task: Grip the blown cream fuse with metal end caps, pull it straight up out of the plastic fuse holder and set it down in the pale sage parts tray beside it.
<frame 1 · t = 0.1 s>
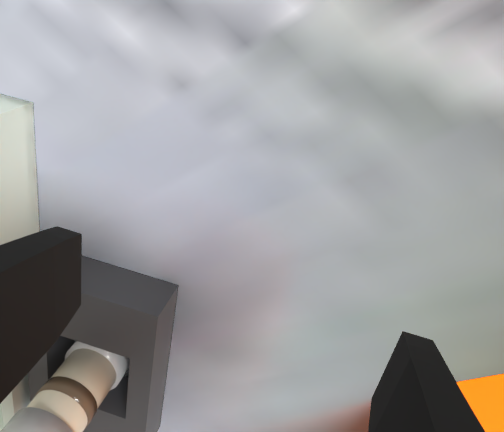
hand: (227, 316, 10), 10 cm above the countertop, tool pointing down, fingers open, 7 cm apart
fuse holder: (110, 343, 26), on the countertop
fuse: (70, 398, 23), in the fuse holder
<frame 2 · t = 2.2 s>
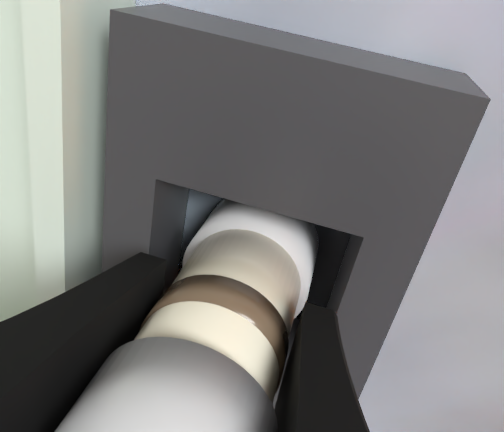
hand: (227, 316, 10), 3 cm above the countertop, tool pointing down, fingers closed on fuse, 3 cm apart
fuse holder: (261, 240, 13), on the countertop
fuse: (219, 333, 10), in the fuse holder, touching gripper
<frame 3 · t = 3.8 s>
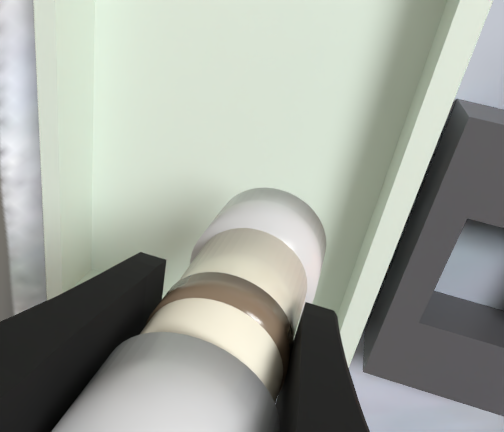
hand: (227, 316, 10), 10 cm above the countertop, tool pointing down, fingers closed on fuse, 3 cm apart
fuse holder: (492, 256, 18), on the countertop
parts tray: (240, 116, 18), on the countertop
fuse: (225, 331, 10), point 10 cm above the countertop, touching gripper
when the fingers open (5 cm above the countertop, at t = 5.5 s): fuse drops 1 cm, resting on parts tray.
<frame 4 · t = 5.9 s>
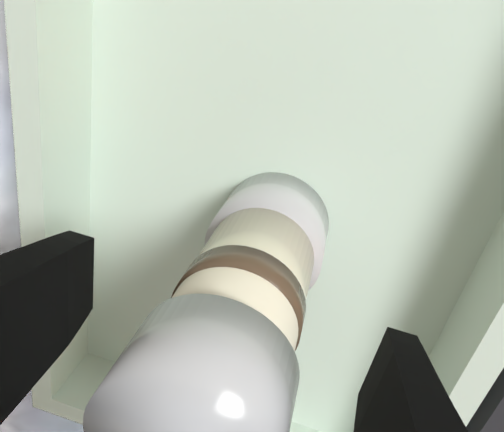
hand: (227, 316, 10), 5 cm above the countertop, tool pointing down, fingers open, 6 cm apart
parts tray: (280, 184, 14), on the countertop
fuse: (242, 300, 11), in the parts tray, point 5 cm above the countertop
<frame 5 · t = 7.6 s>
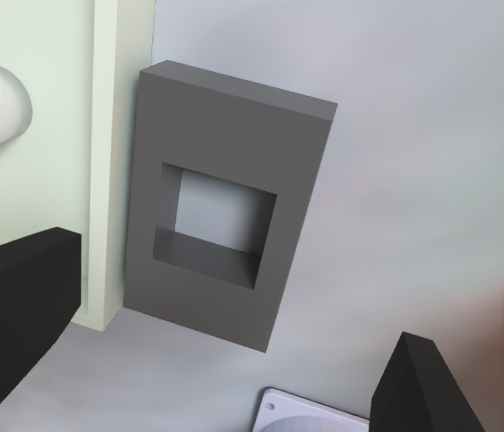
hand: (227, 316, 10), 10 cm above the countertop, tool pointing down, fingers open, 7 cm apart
fuse holder: (227, 203, 21), on the countertop
parts tray: (4, 76, 21), on the countertop
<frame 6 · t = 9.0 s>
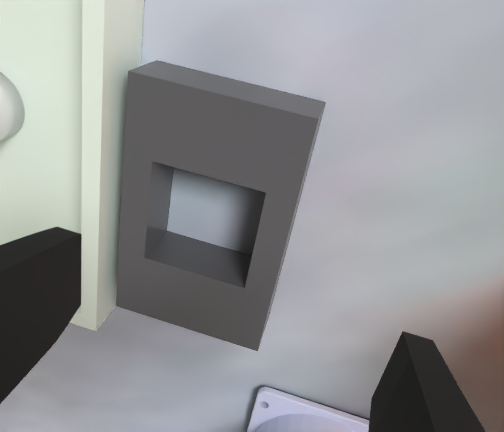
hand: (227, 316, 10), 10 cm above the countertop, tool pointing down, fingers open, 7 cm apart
fuse holder: (218, 202, 21), on the countertop
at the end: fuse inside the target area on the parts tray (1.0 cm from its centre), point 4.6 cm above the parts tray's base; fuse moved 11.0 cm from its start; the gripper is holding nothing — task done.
